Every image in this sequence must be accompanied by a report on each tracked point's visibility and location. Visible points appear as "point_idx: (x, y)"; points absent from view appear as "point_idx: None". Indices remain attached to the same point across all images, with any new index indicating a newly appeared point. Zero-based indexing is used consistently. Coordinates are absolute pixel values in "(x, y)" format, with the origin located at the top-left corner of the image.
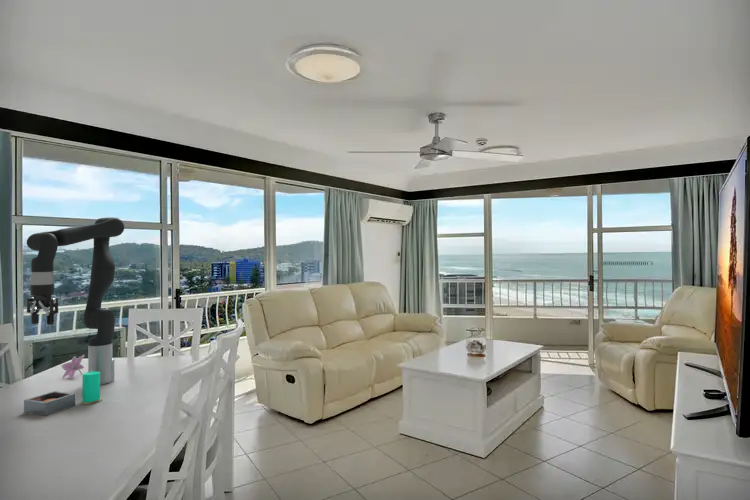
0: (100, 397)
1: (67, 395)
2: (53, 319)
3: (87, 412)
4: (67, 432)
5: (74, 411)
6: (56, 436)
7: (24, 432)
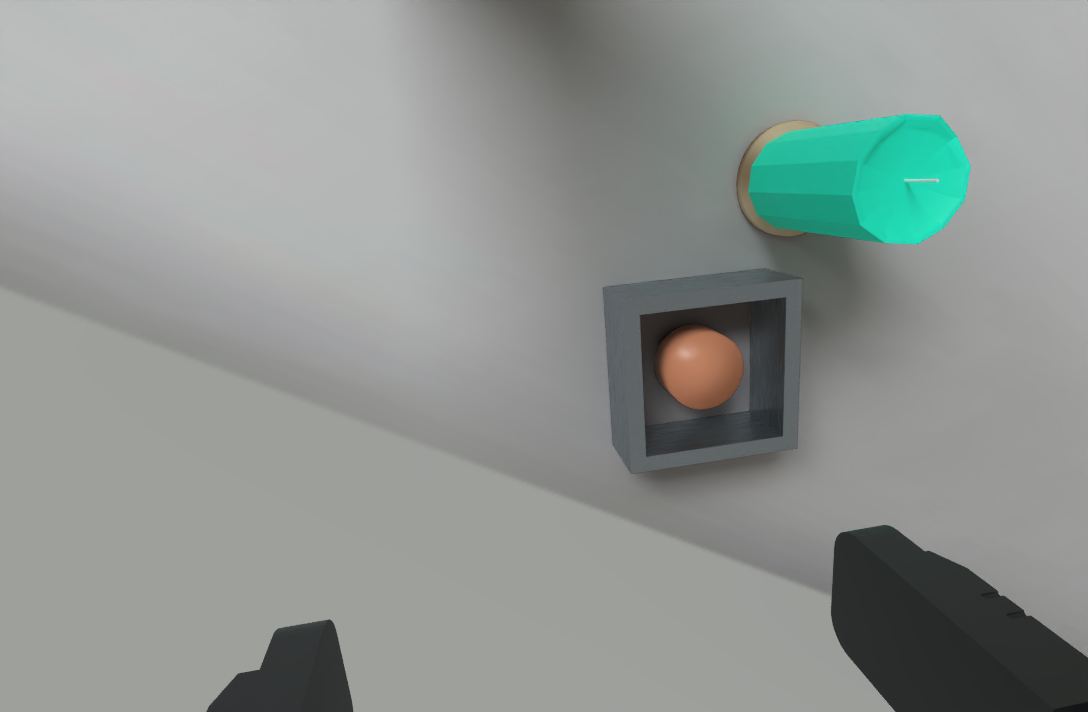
0: (807, 126)
1: (788, 319)
2: (1017, 615)
3: (916, 305)
4: (1024, 477)
5: (842, 324)
6: (1016, 514)
7: None
